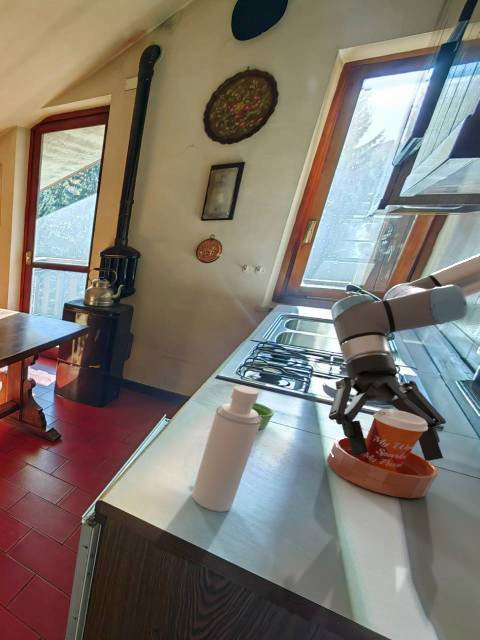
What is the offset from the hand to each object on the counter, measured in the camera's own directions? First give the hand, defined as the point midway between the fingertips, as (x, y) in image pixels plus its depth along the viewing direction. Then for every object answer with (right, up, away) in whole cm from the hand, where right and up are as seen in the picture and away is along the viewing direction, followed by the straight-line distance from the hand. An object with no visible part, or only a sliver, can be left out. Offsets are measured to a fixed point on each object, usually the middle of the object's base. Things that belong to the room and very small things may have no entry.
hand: (396, 456), depth 78 cm
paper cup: (0, -5, +5) cm, 7 cm away
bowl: (0, -5, +5) cm, 7 cm away
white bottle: (-39, -8, -3) cm, 40 cm away
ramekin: (-10, +4, +27) cm, 29 cm away
